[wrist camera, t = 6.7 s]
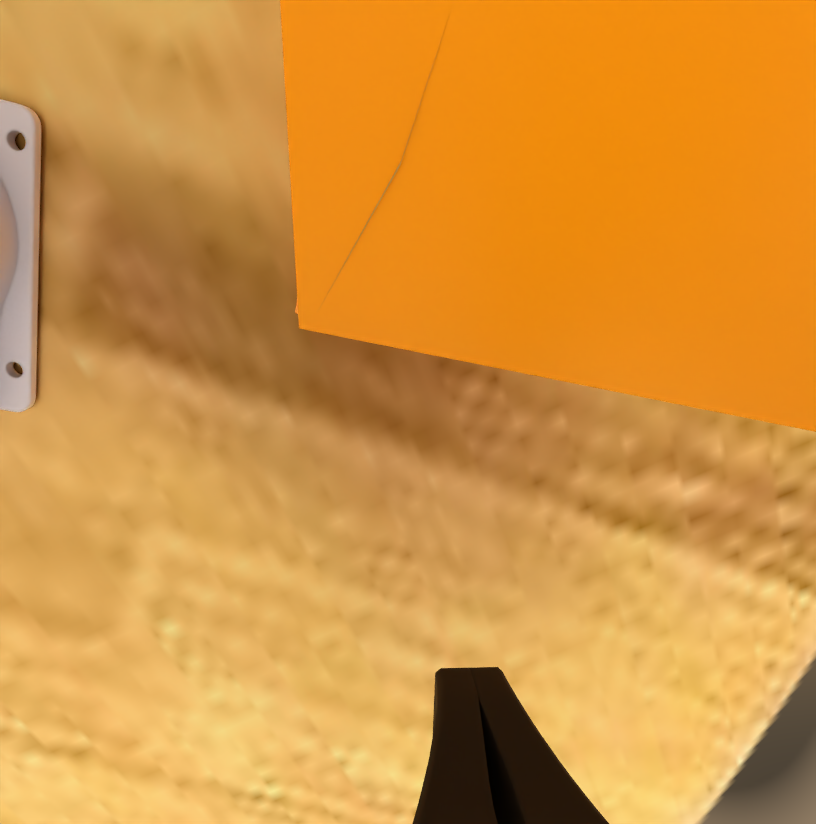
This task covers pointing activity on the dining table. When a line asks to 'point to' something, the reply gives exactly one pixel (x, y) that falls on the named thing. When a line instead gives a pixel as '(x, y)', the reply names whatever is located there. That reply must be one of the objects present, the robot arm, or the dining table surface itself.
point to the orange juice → (564, 189)
